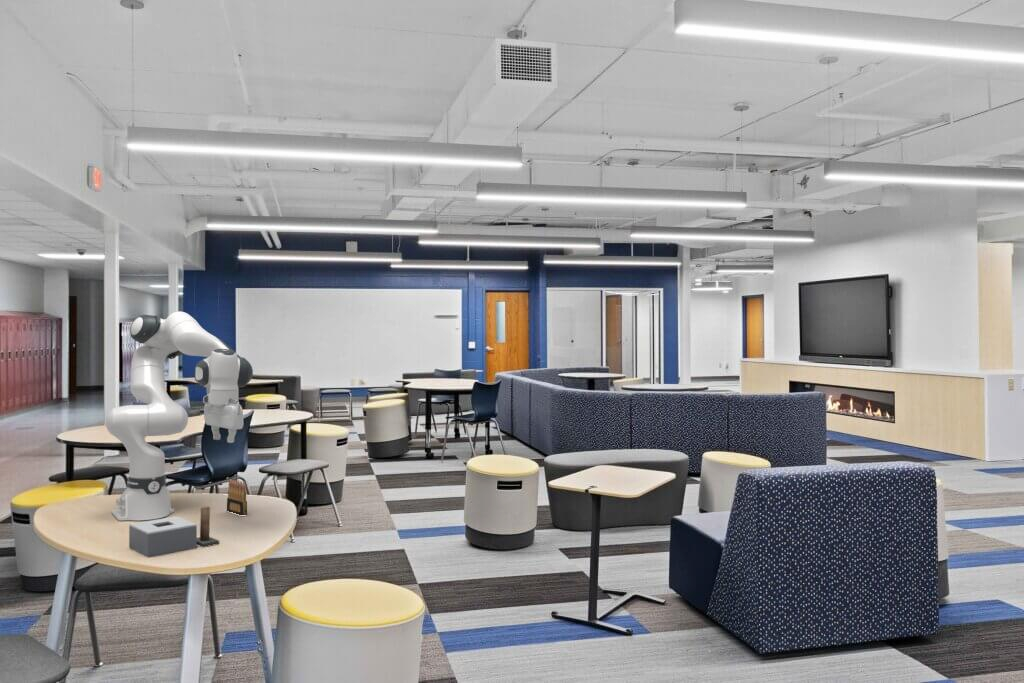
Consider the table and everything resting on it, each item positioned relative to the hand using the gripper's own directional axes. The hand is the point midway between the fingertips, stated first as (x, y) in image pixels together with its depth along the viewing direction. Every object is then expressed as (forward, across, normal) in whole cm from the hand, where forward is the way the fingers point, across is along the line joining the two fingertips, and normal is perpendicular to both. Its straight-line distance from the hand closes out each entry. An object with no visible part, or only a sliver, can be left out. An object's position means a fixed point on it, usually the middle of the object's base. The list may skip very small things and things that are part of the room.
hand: (223, 441), depth 244 cm
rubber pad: (+29, -11, +11) cm, 33 cm away
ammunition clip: (+29, +18, -14) cm, 37 cm away
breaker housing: (+29, -7, +22) cm, 37 cm away
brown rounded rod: (+28, -11, +11) cm, 32 cm away
